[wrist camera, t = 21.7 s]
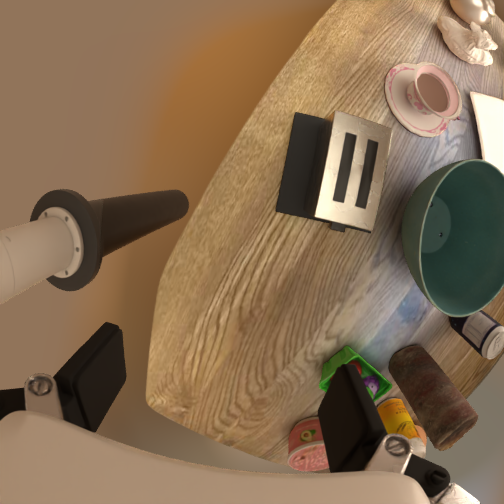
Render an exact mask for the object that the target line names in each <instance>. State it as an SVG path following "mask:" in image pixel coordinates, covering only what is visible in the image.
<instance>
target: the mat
mask: <svg viewBox="0 0 504 504" xmlns="http://www.w3.org/2000/svg"><path fill="white" fill-rule="evenodd" d="M325 120H326V119H322V118H319V117H315V116H311V115H307V114H302V113H298V112H295V116H294V121H293V126H292V131H291V136H290V141H289V146H288V151H287V156H286V161H285V166H284V171H283V176H282V181H281V186H280V191H279V196H278V201H277V206H276V212H280V213H285V214H290V215H295V216H299V217H304V218H308V219H313V220H317V221H322V222H326V223H329V222H330V221H328V220H324V219H319V218H315V217H313V216H312V215H311V214H309V213H308V212H307V211H305V210H304V209H303V207H304V202H305V198H306V193H307V188H308V183H309V179H310V174H311V169H312V164H313V159H314V153H315V148H316V143H317V138H318V132H319V127H320V125H321V124H322V123H323V122H324V121H325ZM346 227H347V228H351V229H355V230H359V231H364V232H368V233H371V231H369V230H365V229H361V228H357V227H353V226H349V225H346Z"/></svg>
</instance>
